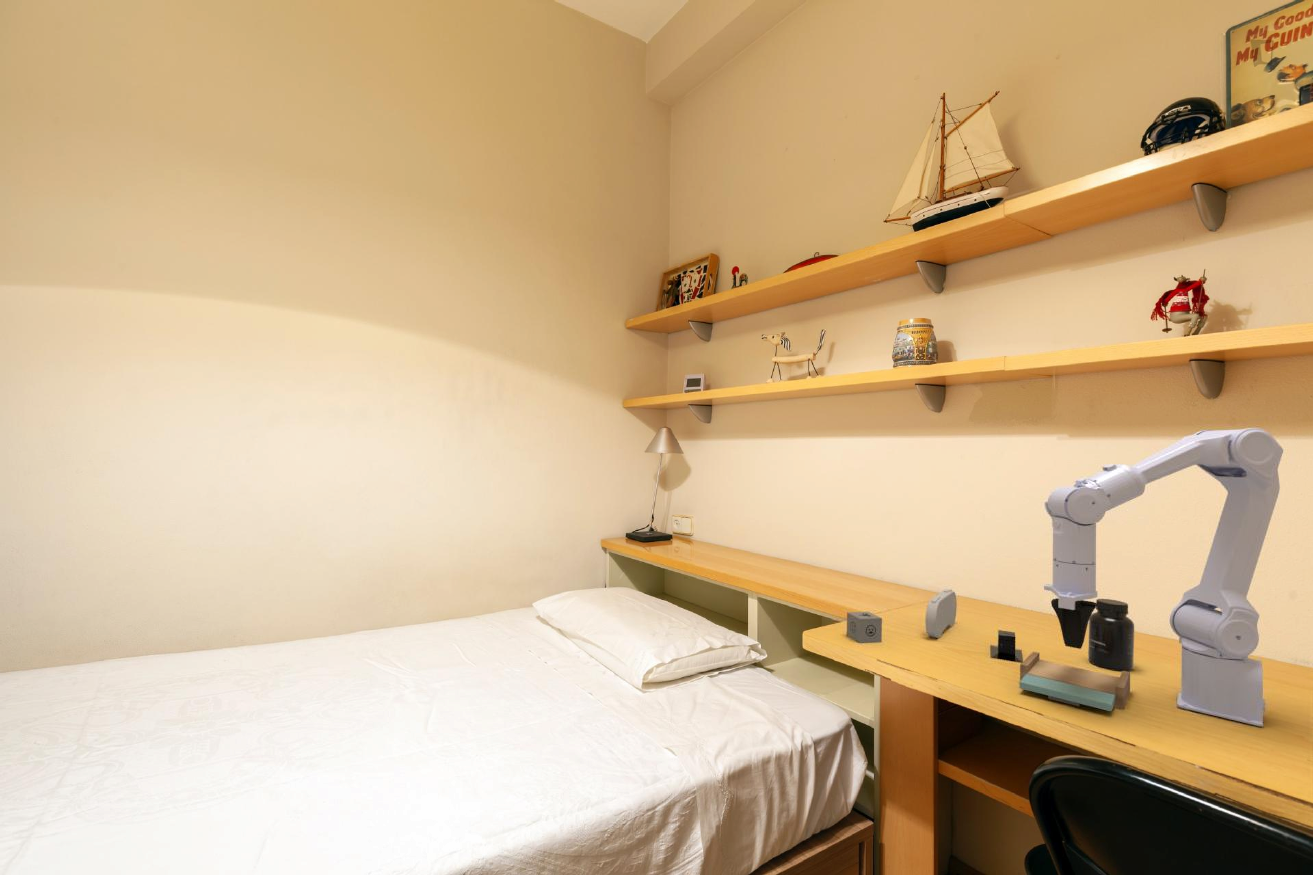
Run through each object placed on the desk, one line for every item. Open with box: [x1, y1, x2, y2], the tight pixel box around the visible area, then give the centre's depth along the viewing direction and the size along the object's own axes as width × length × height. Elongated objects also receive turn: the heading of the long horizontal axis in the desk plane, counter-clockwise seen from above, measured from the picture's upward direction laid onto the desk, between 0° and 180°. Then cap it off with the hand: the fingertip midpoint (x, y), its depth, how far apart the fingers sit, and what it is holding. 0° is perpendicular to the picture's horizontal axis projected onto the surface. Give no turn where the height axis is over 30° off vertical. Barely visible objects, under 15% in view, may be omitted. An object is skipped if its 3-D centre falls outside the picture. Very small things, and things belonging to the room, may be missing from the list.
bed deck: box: [1019, 651, 1131, 710], centre depth 101 cm, size 14×10×3 cm
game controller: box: [925, 588, 958, 639], centre depth 133 cm, size 20×2×8 cm, turn 142°
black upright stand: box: [989, 629, 1024, 664], centre depth 118 cm, size 12×7×5 cm, turn 151°
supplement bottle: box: [1087, 598, 1135, 672], centre depth 113 cm, size 7×7×12 cm
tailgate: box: [1018, 674, 1115, 712], centre depth 95 cm, size 12×2×5 cm
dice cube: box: [846, 611, 883, 644], centre depth 125 cm, size 5×5×5 cm
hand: (1073, 646), depth 96 cm, fingers closed
